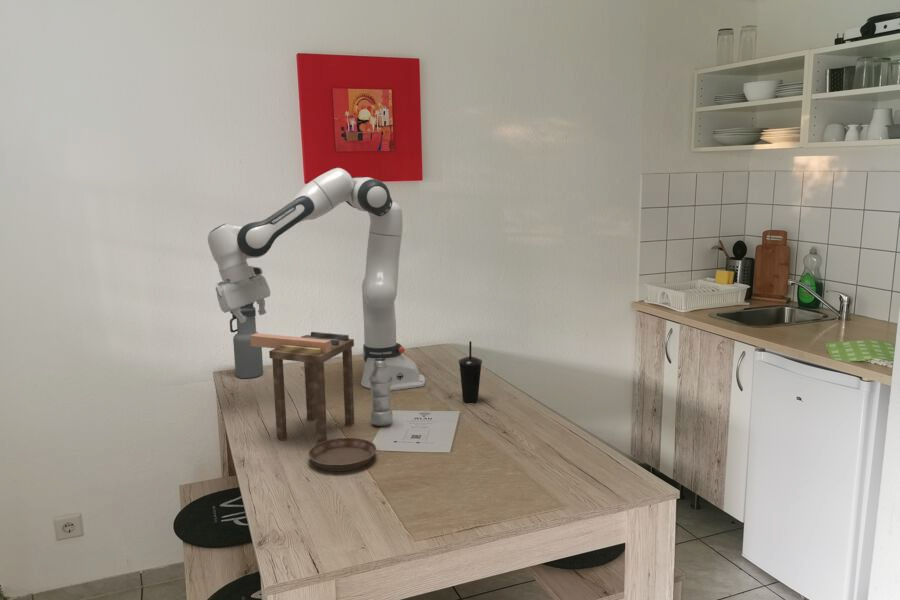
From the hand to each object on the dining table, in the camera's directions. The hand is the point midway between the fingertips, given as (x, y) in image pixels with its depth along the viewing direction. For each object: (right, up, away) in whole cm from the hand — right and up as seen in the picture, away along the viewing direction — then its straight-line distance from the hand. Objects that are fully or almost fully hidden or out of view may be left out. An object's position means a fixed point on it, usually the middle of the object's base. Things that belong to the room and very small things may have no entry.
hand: (253, 318), depth 219 cm
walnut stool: (+22, -33, -14) cm, 42 cm away
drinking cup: (+68, -27, +10) cm, 74 cm away
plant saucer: (+33, -37, -33) cm, 60 cm away
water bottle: (-13, -22, +39) cm, 47 cm away
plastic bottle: (+41, -32, -9) cm, 52 cm away
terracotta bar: (+17, -8, -23) cm, 29 cm away
